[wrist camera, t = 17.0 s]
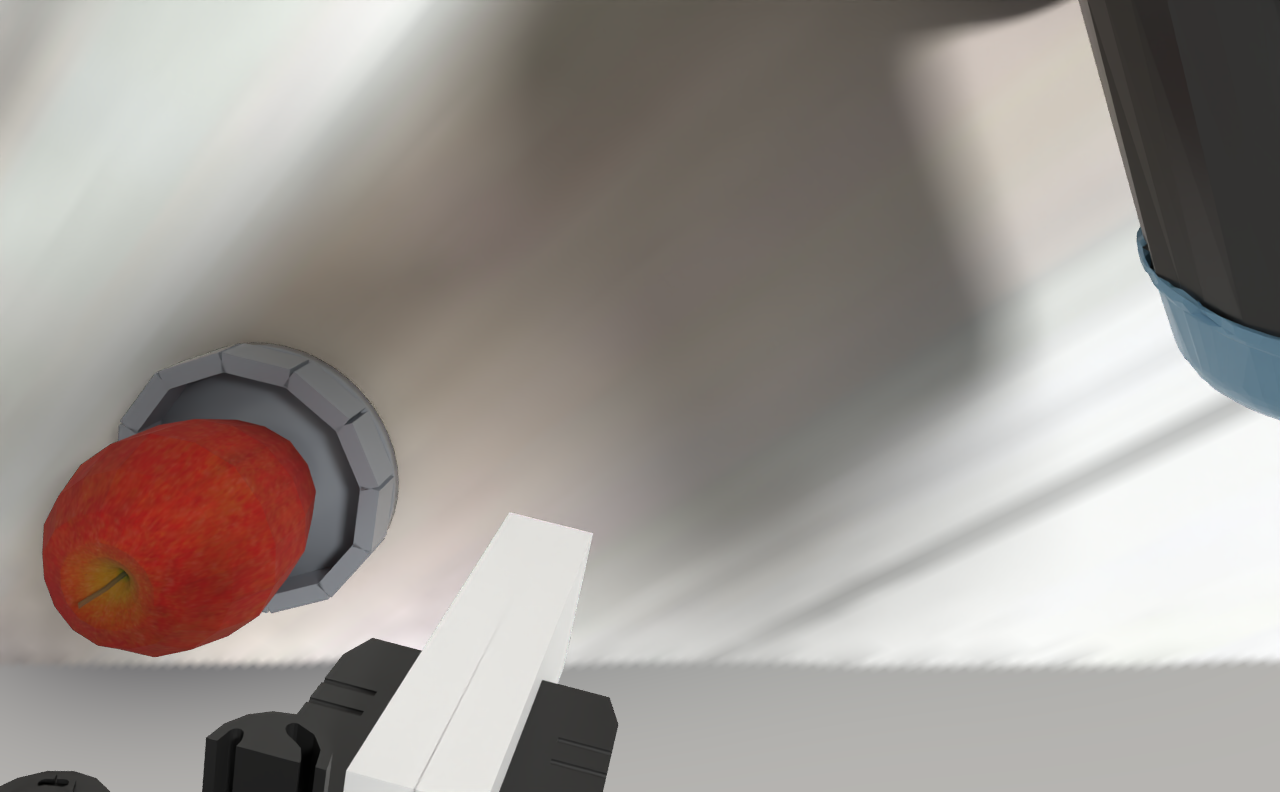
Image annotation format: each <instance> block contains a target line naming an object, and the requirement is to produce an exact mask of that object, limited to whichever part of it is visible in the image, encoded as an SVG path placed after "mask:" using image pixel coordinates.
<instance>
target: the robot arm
mask: <svg viewBox="0 0 1280 792" xmlns="http://www.w3.org/2000/svg"><path fill="white" fill-rule="evenodd" d="M1078 1H1079V4H1080V8H1081V12H1082V15H1083V19H1084V22H1085V26H1086V30H1087V33H1088V37H1089V41H1090V44H1091V48H1092V52H1093V55H1094V59H1095V62H1096V66H1097V70H1098V73H1099V77H1100V81H1101V84H1102V88H1103V91H1104V95H1105V99H1106V102H1107V106H1108V110H1109V113H1110V117H1111V121H1112V124H1113V128H1114V131H1115V135H1116V139H1117V142H1118V146H1119V150H1120V153H1121V157H1122V161H1123V164H1124V168H1125V171H1126V175H1127V179H1128V182H1129V186H1130V190H1131V193H1132V197H1133V200H1134V204H1135V208H1136V211H1137V215H1138V219H1139V222H1140V226H1141V227H1140V229H1139V230H1138V232H1137V246H1138V253H1139V257H1140V260H1141V263H1142V265H1143V267H1144V269H1145V271H1146V272H1147V273H1148V274H1149V276H1150V278H1151V280H1152V282H1153V284H1154V285H1155V286H1156V287H1157V288H1158V290H1159V293H1160V296H1161V299H1162V302H1163V305H1164V308H1165V311H1166V314H1167V317H1168V320H1169V323H1170V326H1171V329H1172V332H1173V335H1174V338H1175V341H1176V343H1177V346H1178V348H1179V349H1180V351H1181V353H1182V355H1183V356H1184V358H1185V359H1186V360H1188V361H1189V363H1190V364H1191V365H1192V367H1193V368H1194V369H1195V370H1196V371H1197V373H1198V374H1199V375H1200V377H1201V378H1202V379H1204V380H1205V381H1206V382H1208V383H1209V384H1210V385H1211V386H1212V387H1213V388H1214V389H1215V390H1217V391H1218V392H1220V393H1222V394H1223V395H1225V396H1227V397H1229V398H1230V399H1232V400H1234V401H1235V402H1237V403H1239V404H1241V405H1243V406H1245V407H1247V408H1249V409H1251V410H1253V411H1256V412H1259V413H1261V414H1264V415H1266V416H1269V417H1272V418H1275V419H1278V420H1280V0H1078ZM592 536H593V533H591V532H587V531H583V530H579V529H575V528H571V527H567V526H563V525H559V524H555V523H551V522H547V521H543V520H539V519H535V518H531V517H527V516H523V515H519V514H515V513H511V512H509V514H508V516H507V517H506V519H505V520H504V522H503V523H502V525H501V527H500V528H499V530H498V531H497V533H496V535H495V536H494V538H493V539H492V541H491V542H490V544H489V546H488V547H487V549H486V550H485V552H484V554H483V555H482V557H481V558H480V560H479V561H478V563H477V565H476V566H475V568H474V569H473V571H472V573H471V574H470V576H469V577H468V579H467V580H466V582H465V584H464V585H463V587H462V588H461V590H460V591H459V593H458V595H457V596H456V598H455V599H454V601H453V603H452V604H451V606H450V607H449V609H448V610H447V612H446V614H445V615H444V617H443V618H442V620H441V622H440V623H439V625H438V626H437V628H436V629H435V631H434V633H433V634H432V636H431V637H430V639H429V641H428V642H427V644H426V645H425V647H424V648H423V650H422V651H421V650H417V649H413V648H409V647H405V646H401V645H398V644H394V643H390V642H386V641H382V640H379V639H375V638H372V639H370V640H368V641H366V642H364V643H363V644H361V645H359V646H357V647H356V648H354V649H352V650H350V651H349V652H347V653H345V654H343V655H342V657H341V658H340V659H339V661H338V662H337V663H336V664H335V666H334V667H333V668H332V670H331V671H330V672H329V674H328V675H327V676H326V678H325V680H324V682H323V683H321V684H320V685H319V686H318V688H317V689H316V690H315V692H314V693H313V694H312V695H311V697H310V700H309V702H306V703H305V704H304V706H303V707H302V708H301V710H300V711H299V712H298V713H297V714H289V713H282V712H273V711H272V712H264V713H256V714H248V715H245V716H243V717H240V718H238V719H235V720H232V721H230V722H227V723H225V724H223V725H222V726H221V727H219V728H218V729H217V730H216V731H214V732H213V733H212V734H211V735H209V736H208V737H207V738H206V749H205V761H204V777H203V789H202V792H603V788H604V784H605V779H606V775H607V771H608V767H609V762H610V758H611V754H612V749H613V745H614V741H615V736H616V732H617V728H618V722H617V719H616V716H615V713H614V710H613V707H612V704H611V701H610V698H609V697H606V696H602V695H598V694H594V693H590V692H586V691H583V690H579V689H575V688H571V687H567V686H564V685H560V684H558V682H559V679H560V676H561V673H562V671H563V668H564V665H565V660H566V656H567V651H568V646H569V642H570V637H571V633H572V628H573V624H574V619H575V614H576V610H577V605H578V601H579V596H580V591H581V587H582V582H583V578H584V573H585V569H586V564H587V559H588V555H589V550H590V546H591V541H592ZM0 792H110V791H109V790H108V789H107V788H106V787H105V786H104V785H103V784H102V783H101V782H99V780H97V779H96V778H94V777H91V776H87V775H84V774H81V773H78V772H74V771H46V772H41V773H37V774H33V775H28V776H25V777H20V778H17V779H14V780H12V781H11V782H8V783H6V784H4V785H2V786H0Z"/></svg>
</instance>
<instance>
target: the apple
mask: <svg viewBox="0 0 1280 792" xmlns="http://www.w3.org/2000/svg"><path fill="white" fill-rule="evenodd" d="M315 495H316V489H315V486H314V483H313V480H312V476H311V473H310V470H309V467H308V464H307V463H306V461H305V460H304V459H303V457H302V456H301V455H300V454H299V452H298V451H297V450H296V448H295V447H294V446H293V444H292V443H291V442H290V441H289V440H287V439H286V438H284V437H282V436H280V435H279V434H277V433H275V432H274V431H272V430H270V429H268V428H267V427H265V426H261V425H257V424H253V423H249V422H245V421H241V420H228V419H191V420H185V421H179V422H173V423H168V424H162V425H157V426H155V427H152V428H150V429H147V430H145V431H142V432H140V433H137V434H135V435H132V436H130V437H127V438H125V439H122V440H120V441H117V442H115V443H112V444H110V445H109V446H107V447H106V448H104V449H103V450H101V451H100V452H99V453H97V454H96V455H94V456H93V457H91V458H90V459H89V460H87V461H86V462H84V463H83V464H81V465H80V467H79V468H78V469H77V471H76V472H75V474H74V475H73V476H72V478H71V479H70V481H69V482H68V483H67V485H66V486H65V488H64V489H63V490H62V492H61V493H60V495H59V496H58V498H57V500H56V502H55V504H54V506H53V508H52V510H51V512H50V514H49V516H48V518H47V520H46V522H45V524H44V533H43V551H42V555H43V568H44V579H45V582H46V585H47V588H48V590H49V593H50V596H51V598H52V601H53V604H54V606H55V607H56V609H57V610H58V611H59V613H60V614H61V615H62V617H63V618H64V619H65V620H66V622H67V623H68V624H69V626H70V627H71V628H72V629H73V630H74V631H76V632H77V633H79V634H80V635H82V636H83V637H85V638H87V639H88V640H90V641H91V642H93V643H95V644H96V645H98V646H104V647H110V648H116V649H121V650H125V651H130V652H134V653H138V654H143V655H147V656H152V657H158V656H163V655H168V654H173V653H178V652H182V651H187V650H191V649H194V648H197V647H199V646H202V645H205V644H208V643H210V642H213V641H216V640H219V639H221V638H224V637H227V636H229V635H230V634H232V633H233V632H235V631H236V630H238V629H240V628H241V627H243V626H244V625H246V624H247V623H249V622H250V621H252V620H253V619H255V618H256V617H258V616H259V615H260V614H261V612H262V611H263V610H264V608H265V607H266V606H267V604H268V603H269V602H270V600H271V599H272V598H273V596H274V595H275V594H276V592H277V591H278V590H279V588H280V587H281V586H282V584H283V583H284V582H285V580H286V579H287V578H288V576H289V575H290V573H291V571H292V570H293V568H294V567H295V565H296V564H297V562H298V561H299V559H300V557H301V556H302V554H303V553H304V551H305V548H306V543H307V539H308V534H309V530H310V525H311V521H312V516H313V509H314V502H315Z"/></svg>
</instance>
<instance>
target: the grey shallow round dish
mask: <svg viewBox="0 0 1280 792" xmlns="http://www.w3.org/2000/svg"><path fill="white" fill-rule="evenodd" d="M191 419H228V420H241V421H245V422H249V423H253V424H257V425H261V426H265V427H267V428H268V429H270V430H272V431H274V432H275V433H277V434H279V435H280V436H282V437H284V438H286V439H287V440H289V441H290V442H291V443H292V444H293V446H294V447H295V448H296V450H297V451H298V452H299V454H300V455H301V456H302V457H303V459H304V460H305V461H306V463H307V464H308V467H309V470H310V473H311V476H312V480H313V483H314V486H315V489H316V495H315V502H314V509H313V516H312V521H311V525H310V530H309V534H308V539H307V543H306V548H305V551H304V553H303V554H302V556H301V557H300V559H299V561H298V562H297V564H296V565H295V567H294V568H293V570H292V571H291V573H290V575H289V576H288V578H287V579H286V580H285V582H284V583H283V584H282V586H281V587H280V588H279V590H278V591H277V592H276V594H275V595H274V596H273V598H272V599H271V600H270V602H269V603H268V604H267V606H266V607H265V608H264V610H263V611H262V612H264V613H268V611H269V610H270V612H271V613H274V612H278V611H282V610H286V609H291V608H295V607H299V606H303V605H307V604H311V603H315V602H319V601H323V600H327V599H329V598H330V597H332V596H333V595H334V594H335V593H336V592H337V591H338V590H339V589H340V587H341V586H342V585H343V584H344V583H345V582H346V581H347V580H348V579H349V578H350V576H351V575H352V574H353V573H354V572H355V571H356V570H357V569H358V568H359V567H360V565H361V564H362V563H363V562H364V561H365V560H366V559H367V558H368V557H369V556H370V554H371V553H372V552H373V551H374V550H375V549H376V548H377V547H378V546H379V544H380V543H381V542H382V541H383V540H384V539H385V538H384V537H385V536H386V535H387V530H388V528H389V526H390V524H391V521H392V518H393V516H394V513H395V508H396V503H397V499H398V485H399V481H398V467H397V462H396V457H395V452H394V449H393V446H392V443H391V440H390V437H389V434H388V432H387V430H386V428H385V426H384V424H383V422H382V420H381V418H380V417H379V415H378V414H377V412H376V410H375V409H374V407H373V406H372V404H371V403H370V402H369V401H368V399H367V398H366V397H365V396H364V394H363V393H362V392H361V391H360V390H359V389H358V388H357V387H356V386H355V385H354V384H353V383H352V382H351V381H350V380H349V379H348V378H346V377H345V376H344V375H343V374H341V373H340V372H339V371H337V370H336V369H335V368H333V367H332V366H330V365H328V364H327V363H325V362H323V361H322V360H320V359H318V358H316V357H314V356H312V355H309V354H307V353H305V352H303V351H300V350H296V349H293V348H290V347H287V346H282V345H276V344H270V343H243V344H240V343H238V344H235V345H231V346H226V347H222V348H220V349H217V350H215V351H212V352H210V353H207V354H204V355H201V356H197V357H194V358H191V359H188V360H185V361H182V362H179V363H177V364H175V365H172V366H170V367H167V368H165V369H163V370H160V371H158V373H156V374H154V375H153V377H152V378H151V380H150V381H149V382H148V384H147V385H146V386H145V388H144V389H143V391H142V392H141V393H140V395H139V396H138V397H137V399H136V400H135V401H134V403H133V404H132V406H131V407H130V408H129V410H128V411H127V412H126V414H125V415H124V416H123V418H122V419H121V421H120V422H122V424H120V425H119V433H118V441H120V440H122V439H125V438H127V437H130V436H132V435H135V434H137V433H140V432H142V431H145V430H147V429H150V428H152V427H155V426H157V425H162V424H168V423H173V422H179V421H185V420H191Z"/></svg>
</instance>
